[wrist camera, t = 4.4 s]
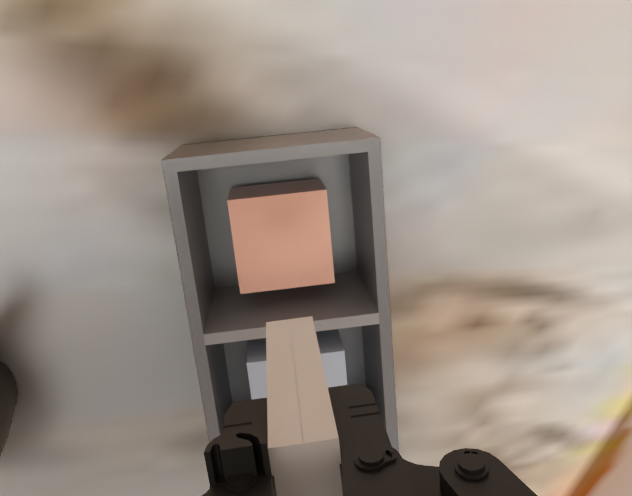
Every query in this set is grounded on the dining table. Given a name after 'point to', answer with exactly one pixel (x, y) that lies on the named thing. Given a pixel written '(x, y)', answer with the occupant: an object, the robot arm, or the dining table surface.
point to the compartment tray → (317, 301)
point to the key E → (281, 235)
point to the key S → (330, 357)
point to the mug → (6, 402)
